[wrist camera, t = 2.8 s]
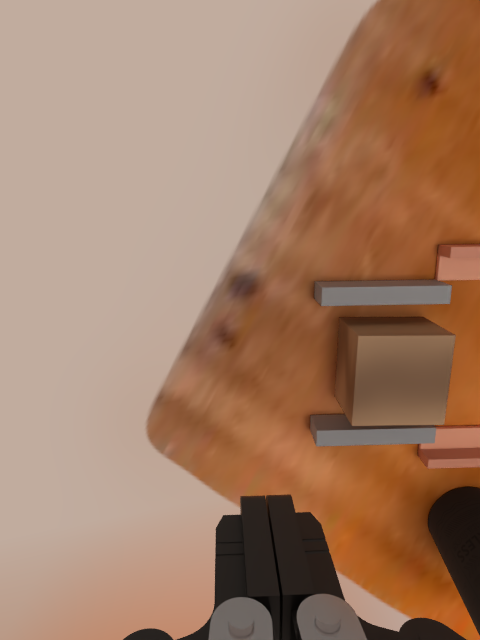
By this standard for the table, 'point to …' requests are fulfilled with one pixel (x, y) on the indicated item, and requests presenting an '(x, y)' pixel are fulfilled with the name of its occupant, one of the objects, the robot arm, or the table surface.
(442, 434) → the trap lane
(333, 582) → the robot arm
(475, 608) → the drinking cup
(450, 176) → the table surface
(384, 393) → the walnut block
